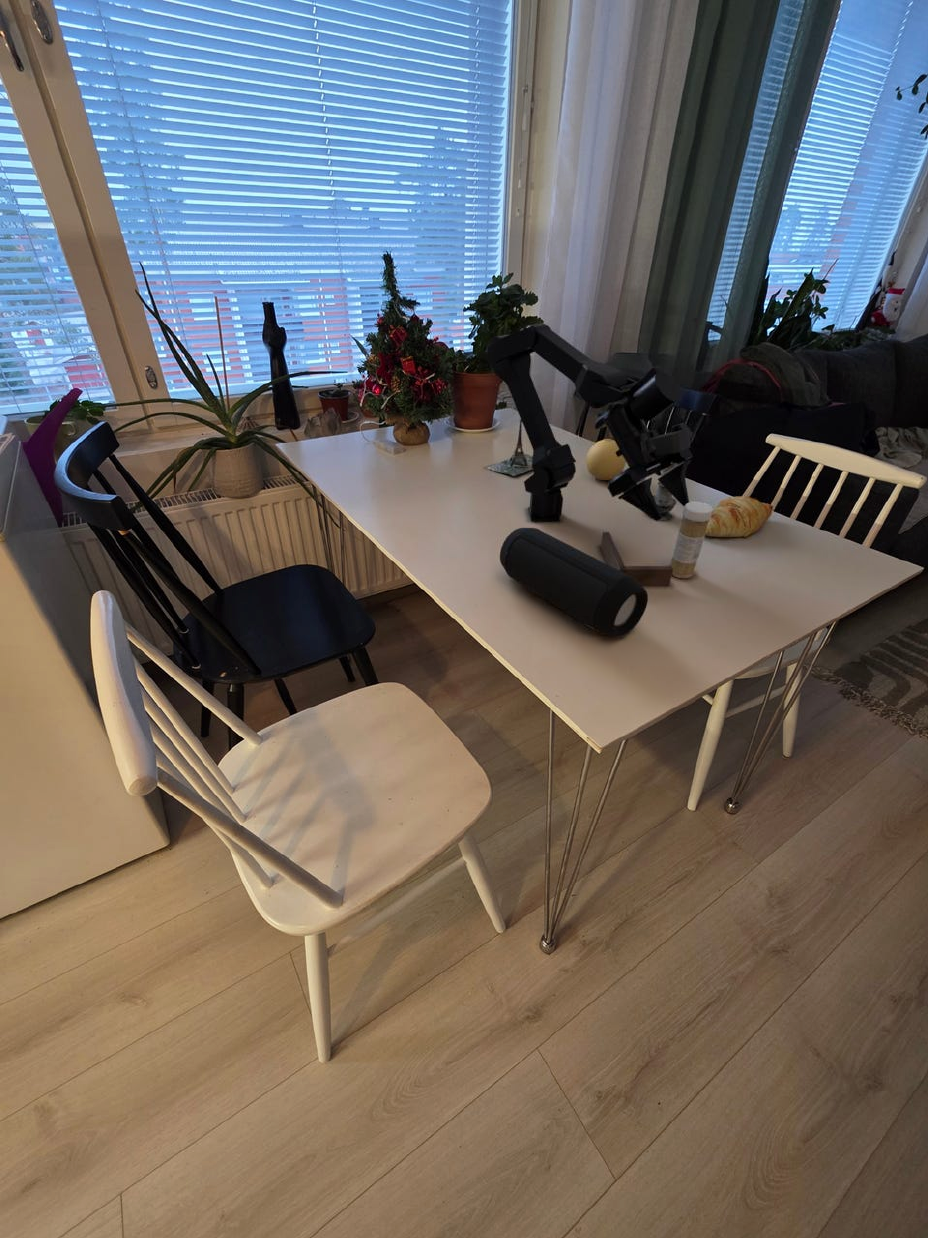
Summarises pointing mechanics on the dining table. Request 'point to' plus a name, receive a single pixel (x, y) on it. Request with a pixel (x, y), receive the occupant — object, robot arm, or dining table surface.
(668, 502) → the grey stone chess piece
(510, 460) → the eiffel tower figurine
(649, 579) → the corner fence
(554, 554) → the portable speaker
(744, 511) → the croissant
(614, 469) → the stress ball
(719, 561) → the dining table surface
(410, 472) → the dining table surface
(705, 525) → the sprinkles bottle
